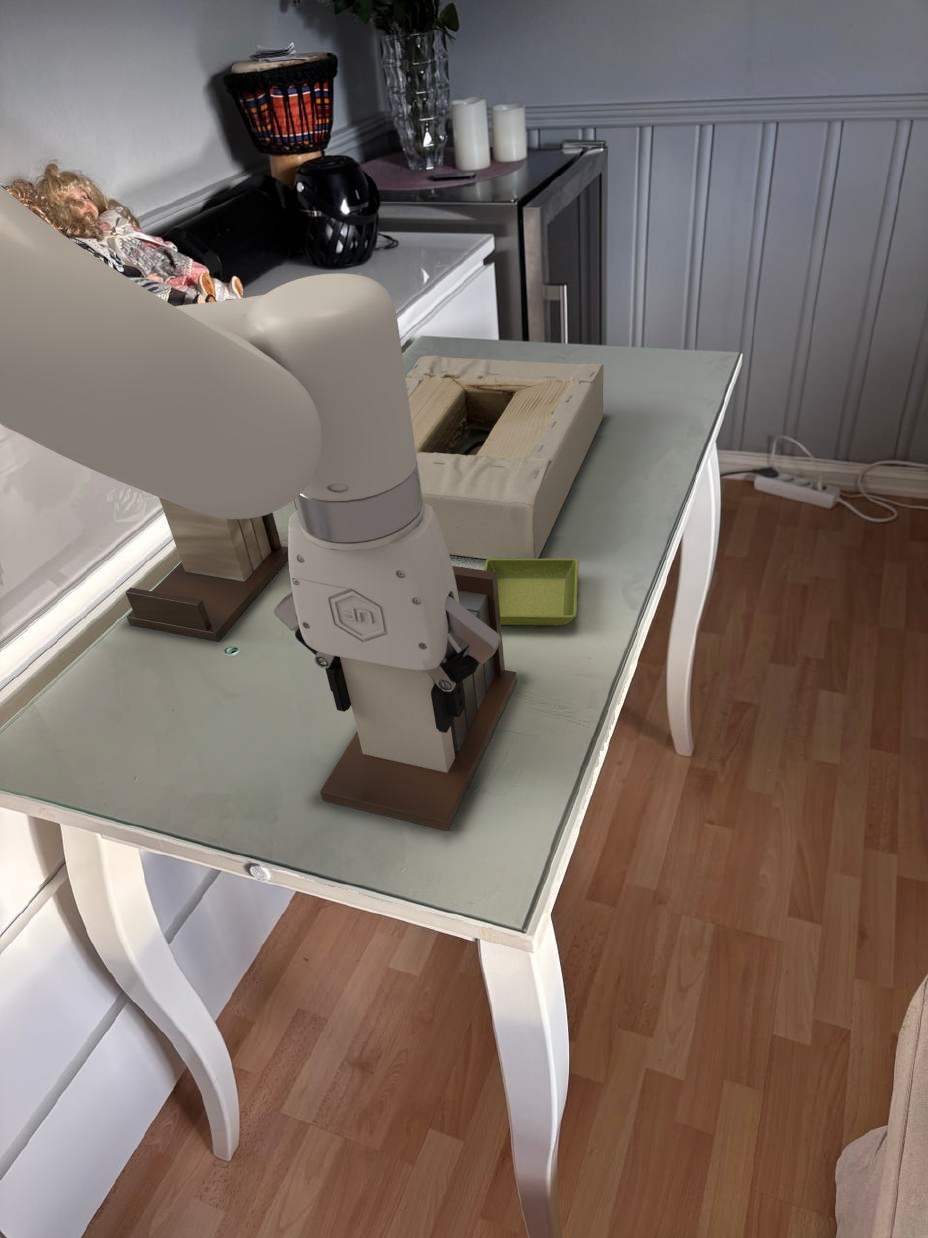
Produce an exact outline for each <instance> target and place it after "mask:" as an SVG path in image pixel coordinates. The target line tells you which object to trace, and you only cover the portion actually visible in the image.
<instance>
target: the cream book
mask: <svg viewBox="0 0 928 1238" xmlns="http://www.w3.org/2000/svg"><path fill="white" fill-rule="evenodd" d="M340 660H341V664H342V668H343V673H344V677H345V681H346V685H347V689H348V694H349V698H350V702H351V706H350V707H351V710H352V714H353V719H354V722H355V728H356V732H357V731H358V736H359V740H360V744H361V748H362V752H363V754H365V755H369V756H374V757H378V758H383V759H387V760H392V761H396V762H401V763H405V764H410V765H414V766H419V767H423V768H428V769H432V770H437V771H441V772H445V773H448V771H449V769H450V767H451V765H452V763H453V761H454V759H455V753H454V746H453V739H452V732H451V726H450V728H449V730H448V732H447V733H444V732H439V731H438V729H436V723H435V717H434V711H433V705H432V698H431V690H432V688H433V686H434V684H435V682H434V681H433V679H432V678H431V676H430V675H429V674H428V672H427V671H426V670H425V671H418V670H410V669H403V668H398V667H392V666H386V665H380V664H375V663H370V662H364V661H359V660H354V659H349V658H344V657H340Z"/></svg>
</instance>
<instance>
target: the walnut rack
mask: <svg viewBox="0 0 928 1238" xmlns="http://www.w3.org/2000/svg"><path fill="white" fill-rule="evenodd" d="M452 567H453V571H454V576H455V580H456V585H457V591H458V597H459V604H461V605H462V606H463V607H464V608H466V609H467V610H468V611H470V612H471V613H472V614H473V615H475V616H476V617H477V618H479V619H480V620H481V621H482V622H484V623H485V624H486V625H487V626H489V627H490V628H491V629H493V630H494V631H495V632H496V633H498V634H499V635H500V637H501V642H500V644H499V646H498V648H497V650H496V652H495V653H494V655H493V656H491V657H490V658H489V659H488V660H487V661H486V662H485V663H483V664H482V665H480V666H479V667H478V668H477V669H476V671H475V672H474V673H473V674H471V675H470V676H468V677H467V678H465V679H464V680H463V685H464V693H465V707H464V710H463V712H462V714H461V716H460V717H455V718H454V720H453V722H452V724H451V732H452V739H453V746H454V753H455V759H454V761H453V763H452V765H451V767H450V769H449V771H448V773H445V772H441V771H437V770H432V769H428V768H423V767H419V766H414V765H410V764H405V763H401V762H396V761H392V760H387V759H383V758H378V757H374V756H369V755H365V754H363V752H362V748H361V744H360V740H359V736H358V731H357V730H356V732H355V734H354V736H353V737H352V739H351V740H350V742H349V744H348V745H347V747H346V748H345V750H344V752H343V753H342V755H341V757H340V758H339V760H338V762H337V763H336V765H335V766H334V768H333V770H332V771H331V773H330V774H329V776H328V778H327V780H326V781H325V782H324V784H323V786H322V788H321V789H320V791H319V793H320V796H321V801H325V802H328V803H333V804H337V805H340V806H345V807H348V808H352V809H357V810H361V811H365V812H369V813H373V814H378V815H380V816H386V817H390V818H394V819H398V820H401V821H406V822H409V823H414V824H418V825H422V826H426V827H429V828H433V829H438V830H441V831H446V832H448V831H449V829H450V827H451V825H452V822H453V820H454V818H455V816H456V814H457V811H458V810H459V807H460V805H461V803H462V801H463V799H464V797H465V794H466V792H467V790H468V788H469V785H470V783H471V781H472V780H473V777H474V775H475V773H476V770H477V769H478V766H479V764H480V762H481V759H482V757H483V755H484V753H485V751H486V749H487V747H488V745H489V743H490V741H491V738H492V736H493V734H494V731H495V729H496V727H497V725H498V723H499V721H500V719H501V716H502V714H503V712H504V710H505V708H506V706H507V703H508V701H509V700H510V697H511V695H512V693H513V690H514V688H515V686H516V685H517V682H518V676H517V674H518V673H517V672H516V671H512V670H508V669H506V666H505V655H504V645H503V633H502V632H503V631H502V625H501V619H500V608H499V596H498V585H497V573H496V572H492V571H485V570H484V569H479V568H478V569H477V568H470V567H464V566H457V565H452ZM450 634H451V636H452V637H453V639H454V640H455V642H456V643H457V644H458V646H459V647H460V649H461V650H463V649H464V648H466V647H467V646H469V645H468V644H467V643H466V642H465V641H464V640H462V639H461V638H460V637H459V636H457V635H456V634H455V633H453V632H452V633H450ZM442 661H443V663H445V662H446V661H447V660H446V659H445V658H443V660H442Z"/></svg>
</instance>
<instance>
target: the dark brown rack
mask: <svg viewBox="0 0 928 1238" xmlns="http://www.w3.org/2000/svg"><path fill="white" fill-rule="evenodd" d="M158 499H159V501H160V505H161V507H162V511H163V513H164V516H165V519H166V522H167V524H168V527H169V531H170V534H171V536H172V538H173V541H174V544H175V547H176V550H177V553H178V556H179V559H180V562H179V563H178V564H177V565H176V566H175V567H174V568H173V569H172V570H171V571H170V572H169V573H168V575H166V576H165V577H164V578H163V579H162V580H161V581H160V583H158V585H156V586H155V587H154V588H153V590H148V589H143V588H135V587H129V588H128V589H127V590H125V595H126V598H127V600H128V603H129V605H130V607H131V611H130V612H129V613H128V615H126V620H127V622H128V624H129V625H130V626H133V627H134V626H135V627H140V628H146V629H150V630H157V631H161V632H167V633H171V634H177V635H182V636H186V637H187V636H189V637H193V638H198V639H204V640H208V641H214V642H220V641H221V639H222V638H223V637H224V635H225V634H226V633H228V631H229V630H230V629H231V627H232V626H233V625H234V624H235V623H236V622H237V620H238V619H239V618H240V617H241V616H242V615H243V613H244V612H246V610H247V609H248V607H249V606H250V605H251V604H252V603H253V602H254V601H255V600H256V598H257V597H258V596H259V595H260V593H261V592H262V591H264V589H265V588H266V586H267V585H268V584H269V583H270V582H271V581H272V579H273V578H274V577H275V576H276V575H277V574H278V572H280V570H281V569H282V568H283V567H284V565H285V564H286V563H287V562H288V561H289V558H288V546H284V545H282V543H281V539H280V535H279V532H278V528H277V523H276V521H275V517H274V512H272V513H270V514H267V515H264V516H259V517H255V518H249V519H227V518H219V517H213V516H209V515H205V514H202V513H198V512H195V511H193V510H190V509H188V508H185V507H182V506H180V505H177V504H175V503H172V502H170V501H167V500H165V499H162V498H160V497H158Z"/></svg>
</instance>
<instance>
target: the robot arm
mask: <svg viewBox="0 0 928 1238" xmlns="http://www.w3.org/2000/svg"><path fill="white" fill-rule="evenodd" d="M395 306H396V305H395V304H394V300H393V299H392V297H391V295H390V293H389V291H388V290H387V289H386V288H385V287H384V286H383V285H382V284H381V283H380V282H378V281H376V280H374V279H372V278H370V277H368V276H364V275H360V274H356V273H343V272H339V273H338V272H335V273H321V274H314V275H309V276H304V277H300V278H297V279H294V280H291V281H288V282H285V283H284V284H281V285H279V286H277V287H275V288H273V289H271V290H270V291H269V292H267V293H265V294H259V295H255V296H248V297H242V298H235V299H228V300H227V299H226V300H218V301H209V302H200V303H190V304H182V305H181V304H180V305H176V306H174V305H173V304H171V303H169V301H166V300H165V299H163V298H162V297H159V296H158V295H156V294H155V293H153V292H152V291H150V290H148V289H147V288H145V287H143V286H142V285H140V284H139V283H137V282H136V281H134V280H132V279H131V278H129V277H127V276H126V275H124V274H123V273H121V272H119V271H118V270H116V269H115V268H113V267H112V266H110V265H109V264H108V263H105V262H104V261H102V260H101V259H99V258H98V257H97V256H95V255H93V254H92V253H91V252H89V251H88V250H87V249H85V248H83V247H82V246H80V245H79V244H78V243H76V242H75V241H73V240H71V238H69V237H67V236H66V235H64V234H63V233H61V232H60V231H59V230H58V229H56V228H54V226H52V225H50V224H49V223H48V222H47V221H46V220H44V219H43V218H41V217H40V216H39V215H37V214H36V213H35V212H33V210H31V209H30V208H28V207H27V206H26V205H25V204H23V202H21V201H20V200H19V199H17V198H16V197H15V196H14V195H13V194H11V192H9V191H8V190H7V189H5V188H4V186H2V185H0V424H1V425H3V426H5V427H6V428H8V429H10V430H12V431H13V432H16V433H18V434H19V435H21V436H23V437H25V438H27V439H29V440H31V441H32V442H35V443H37V444H38V445H40V446H43V447H44V448H46V449H48V450H50V451H52V452H55V453H56V454H58V455H60V456H62V457H64V458H66V459H68V460H70V461H73V462H75V463H77V464H79V465H81V466H83V467H86V468H87V469H90V470H92V471H95V472H96V473H99V474H101V475H103V476H106V477H108V478H111V479H112V480H116V481H117V482H121V483H123V484H125V485H128V486H130V487H133V488H135V489H138V490H141V491H143V492H145V493H148V494H150V495H153V496H155V497H158V498H159V497H160V498H162V499H165V500H167V501H170V502H172V503H175V504H177V505H180V506H182V507H185V508H188V509H190V510H193V511H195V512H198V513H202V514H205V515H209V516H213V517H219V518H227V519H249V518H255V517H259V516H264V515H267V514H270V513H272V512H273V513H274V512H277V511H279V510H282V509H283V508H284V507H286V506H287V505H289V504H291V503H292V502H293V503H294V507H295V511H293V513H292V514H291V515H290V517H289V519H288V522H287V523H288V525H287V547H288V558H289V559H288V571H289V577H290V579H289V580H290V586H291V592H290V593H289V594H287V595H286V596H284V597H283V598H282V599H281V600H280V601H279V603H278V604H277V606H276V607H275V608H274V610H273V613H274V615H275V616H276V618H278V619H279V621H281V622H282V623H283V624H284V625H285V626H286V627H287V628H288V629H289V630H290V631H293V632H294V636H295V639H296V640H297V641H298V642H299V643H300V644H301V645H303V646H304V647H305V648H306V649H307V650H309V651H310V653H312V654H313V655H315V656H314V662H315V664H316V665H317V666H318V667H319V668H322V669H325V673H326V677H327V680H328V685H329V689H330V691H331V693H332V696H333V700H334V704H335V709H336V710H337V711H339V712H343V713H345V712H346V711H348V710H349V709H350V708H351V707H352V706H351V702H350V698H349V694H348V689H347V685H346V681H345V677H344V673H343V668H342V664H341V660H340V657H344V658H349V659H354V660H359V661H364V662H370V663H375V664H380V665H386V666H392V667H398V668H403V669H410V670H418V671H425V670H426V671H427V672H428V674H429V675H430V676H431V678H432V679H433V681H434V682H435V684H434V686H433V688H432V690H431V698H432V705H433V711H434V717H435V723H436V729H438V731H439V732H444V733H447V732H448V730H449V728H450V726H451V724H452V722H453V720H454V718H455V717H460V716H461V714H462V712H463V710H464V707H465V693H464V685H463V680H464V679H465V678H467V677H468V676H470V675H471V674H473V673H474V672H475V671H476V669H477V668H478V667H479V666H480V665H482V664H483V663H485V662H486V661H487V660H488V659H489V658H490V657H491V656H493V655H494V653H495V652H496V650H497V648H498V646H499V644H500V642H501V637H500V635H499V634H498V633H496V632H495V631H494V630H493V629H491V628H490V627H489V626H487V625H486V624H485V623H484V622H482V621H481V620H480V619H479V618H477V617H476V616H475V615H473V614H472V613H471V612H470V611H468V610H467V609H466V608H464V607H463V606H462V605H461V604H459V597H458V591H457V585H456V580H455V576H454V571H453V567H452V566H453V564H452V559H451V554H449V552H448V548H447V545H446V542H445V539H444V536H443V533H442V530H441V527H440V525H439V522H438V520H437V517H436V515H435V513H434V510H433V508H432V506H431V505H429V504H426V503H423V497H422V490H421V483H420V476H419V469H418V462H417V455H416V448H415V441H414V434H413V427H412V420H411V413H410V406H409V399H408V392H407V385H406V371H405V365H404V357H403V350H402V341H401V335H400V329H399V321H398V317H397V316H398V315H397V312H396V311H397V310H396V307H395ZM452 632H453V633H455V634H456V635H457V636H459V637H460V638H461V639H462V640H464V641H465V642H466V643H467V644H468V645H469V646H467V647H466V648H464V649H463V650H461V649H460V647H459V646H458V644H457V643H456V642H455V640H454V639H453V637H452V636H451V634H450V633H452ZM443 658H445V659H446V660H447V661H446V662H445V663H443V661H442V660H443Z"/></svg>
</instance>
